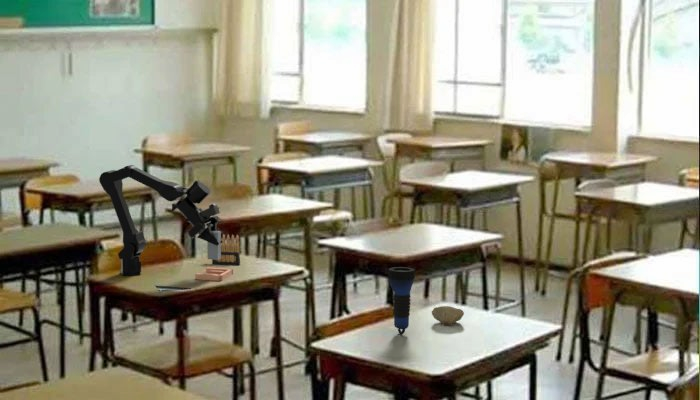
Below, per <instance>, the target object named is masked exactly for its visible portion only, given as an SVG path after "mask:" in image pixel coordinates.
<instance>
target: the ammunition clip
mask: <svg viewBox="0 0 700 400" xmlns="http://www.w3.org/2000/svg"><path fill="white" fill-rule="evenodd" d="M221 240H222V243H221V259H219V260H212V259H211V265H214V266H215V265H218V266H219V265H220V266H240V265H241V255H240V237H239V235H238V234H236V236H235V235H234V233H232V234H231V238H230V234H229V233H228V234H227V236H226V235H225V234H224V233H223V234H222V236H221Z"/></svg>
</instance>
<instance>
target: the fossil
mask: <svg viewBox="0 0 700 400" xmlns="http://www.w3.org/2000/svg"><path fill="white" fill-rule="evenodd" d="M464 315H465V313H464V311H463V310H462V309H461V308H456V307H453V306H449V305H446V306H445V305H444V306H443V305H442V306H437V307H434V308H433V309H432V310H431V316H432V317H433V318H434V319H435V320H437V321H438V322H439V323H440V324H441V325H442V326H452V325H454V324H455V323H456V322H459V321H460V320H462V318H463V316H464Z"/></svg>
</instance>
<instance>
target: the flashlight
mask: <svg viewBox="0 0 700 400" xmlns="http://www.w3.org/2000/svg"><path fill="white" fill-rule="evenodd" d="M415 274H416V269H415V268H412V267H406V266H405V267H403V266H397V267H396V266H394V267H390V268H388V277H387V278H388V280H389V285H390V288H391V290H392V291H393V293H394V294H393V295H392V296H393V298H392V300H393V303H392V305H393V306H392V307H393V309H392V311H393V312H392V313H393V323H394V328H396V329H397V332H398V333H399V334H400V335H403V334H405V333H406V329H408V328H409V325H410V324H409V323H410V311H411V297H412V296H411V290H412V287H413V284H414V281H415V277H416V275H415Z"/></svg>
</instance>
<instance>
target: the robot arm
mask: <svg viewBox="0 0 700 400" xmlns="http://www.w3.org/2000/svg"><path fill="white" fill-rule="evenodd" d="M127 178H129V179H132V180H134V181H136V182H138V183H140V184H141V185H144V186H146V187H148V188H150V189H152V190H153V191H155V192H156V193H158V194H159V196H160V197H161V198H163V199H165V200H166V201H168V202H174V201H176V202H174V203H171V212H176V211H177V210H178V211H179V212H180V214H182V216H184V218H185V220H184V221H185V222H186V223H190V224H191V225H192V227H191V228H190V229H189V230H188V231H187V233H188V236H189V238H190V239H194V238H195V237H196V235H197V234H198V236H197V237H196V238H197V239H200V240H202V241H205V242H210V243H212V244H214V245H216V246H218V245H219V242H218V241H217V239H216V238H215V236H214V235H213V234H212V232H211V231H218V229H217V227H218V223H219V222H221V218H220V217H219V216H218V214H220V213H221V212H220V210H219V209H220V206H218V204H216V203H212V204H210V205H208V208H206V209H203V208H201V207H200V208H199V207H198V206H197V205H196V204H201V203H202V202H203V201H204V200H206V198H207V197H208V196H209V195H210V194H211V190H210V188H209V187H208V185H206V184H204V183H203V182H201V181H199V179H197V180H195V181H194V182H193V184H191V186H190V187H189V188H188V187H183V186H182V185H181V184H179V183H176V182H172V181H167V180H163V179H160V178H159V177H157V176H155V175H152V174H151V173H148V172H146V171H145V170H142V169H140V168H138V167H137V166H136V165H134V164H130V165H126V166H124V167H122V168H120V169H117V170H116V169H112V170H108V171H104V172H102V173H101V174H100V175H99V179H98V181H99V184H100V186H101V187H102V189H103V191H105V193H106V194H107V195H108V196H109V198H110V201H111V202H112V206H113V208H114V211H115V214H116V217H117V220H118V223H119V224H120V227H121V230H122V245H123V248H122V249H121V250H120V251H119V252H118V253H117V255H118V259H120V264H121V265H120V266H121V267H120V273H121V275H122V276H137V275H138V276H139V275H141V272H142V261H141V260H140V256H141V255H142V253H143V251H144V250H145V249H146V246H147V244H146V242H147V239H146V238H145V235H144V232H143V230H141V231H139V230H137V229H136V226H135V222H134V221H133V218H132V215H131V212H130V209H129V207H128V205H127V202H126V199H125V197H124V193H123V187H124V186H123V185H124V184H123V180H125V179H127ZM177 200H178V201H177ZM221 244H222V239H221Z"/></svg>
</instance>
